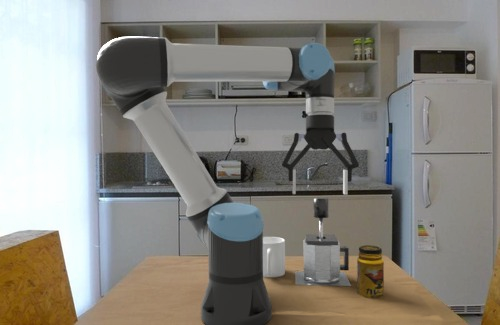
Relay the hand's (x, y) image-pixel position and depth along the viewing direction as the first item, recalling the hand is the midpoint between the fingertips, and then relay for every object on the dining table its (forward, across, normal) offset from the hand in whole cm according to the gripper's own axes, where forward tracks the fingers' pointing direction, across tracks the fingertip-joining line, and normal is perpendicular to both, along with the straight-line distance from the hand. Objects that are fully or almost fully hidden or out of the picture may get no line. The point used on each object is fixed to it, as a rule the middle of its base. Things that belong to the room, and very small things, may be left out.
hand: (319, 194), depth 99 cm
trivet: (+24, +1, 0) cm, 24 cm away
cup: (+24, -13, +2) cm, 28 cm away
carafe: (+23, +2, 0) cm, 23 cm away
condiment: (+24, +11, -10) cm, 28 cm away
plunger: (+20, +1, 0) cm, 20 cm away
